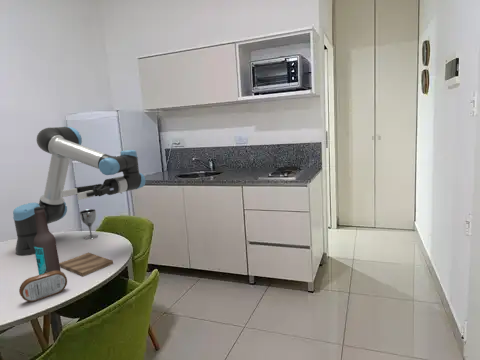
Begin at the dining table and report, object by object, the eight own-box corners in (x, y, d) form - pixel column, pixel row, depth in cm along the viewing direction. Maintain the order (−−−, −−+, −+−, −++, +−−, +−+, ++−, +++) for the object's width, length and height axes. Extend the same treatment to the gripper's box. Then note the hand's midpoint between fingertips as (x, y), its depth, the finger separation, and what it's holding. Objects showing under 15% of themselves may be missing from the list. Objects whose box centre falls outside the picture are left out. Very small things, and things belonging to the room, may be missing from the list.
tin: (67, 287, 129) (63, 266, 128) (69, 290, 127) (66, 269, 125) (21, 303, 120) (17, 280, 118) (22, 306, 117) (18, 283, 116)
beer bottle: (37, 280, 137) (24, 208, 132) (56, 273, 143) (45, 204, 138) (44, 285, 133) (31, 210, 128) (64, 277, 138) (52, 206, 133)
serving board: (59, 266, 150) (58, 263, 150) (89, 255, 161) (88, 252, 161) (82, 276, 138) (82, 272, 138) (113, 263, 149) (112, 260, 149)
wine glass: (101, 234, 193) (98, 208, 190) (94, 239, 185) (90, 212, 182) (88, 235, 194) (84, 209, 191) (80, 239, 186) (76, 213, 183)
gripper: (131, 195, 152) (86, 206, 136) (101, 191, 167) (57, 201, 151) (129, 179, 151) (84, 188, 134) (99, 176, 166) (54, 184, 149)
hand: (69, 195), depth 142 cm, fingers open, 13 cm apart
